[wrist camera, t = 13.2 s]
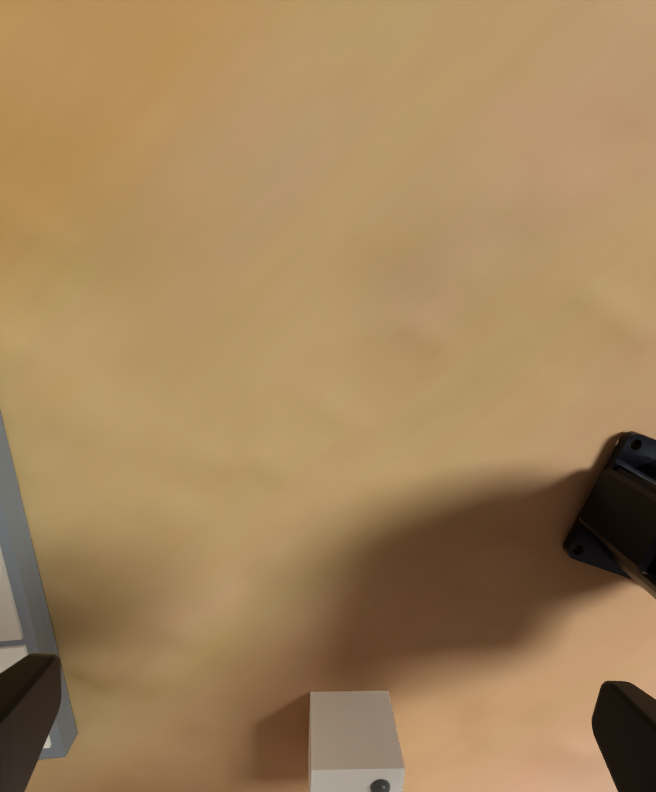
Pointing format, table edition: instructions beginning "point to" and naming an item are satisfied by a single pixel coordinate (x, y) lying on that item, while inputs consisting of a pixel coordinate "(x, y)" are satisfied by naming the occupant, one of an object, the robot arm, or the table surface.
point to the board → (25, 599)
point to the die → (353, 743)
